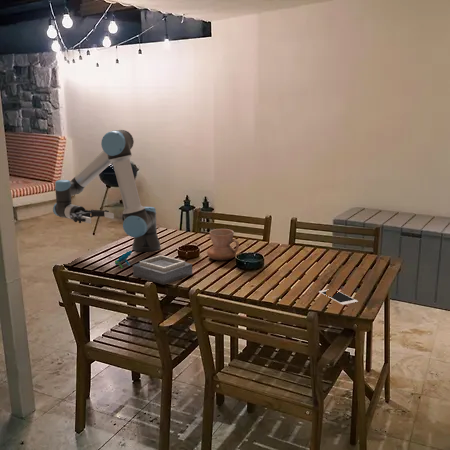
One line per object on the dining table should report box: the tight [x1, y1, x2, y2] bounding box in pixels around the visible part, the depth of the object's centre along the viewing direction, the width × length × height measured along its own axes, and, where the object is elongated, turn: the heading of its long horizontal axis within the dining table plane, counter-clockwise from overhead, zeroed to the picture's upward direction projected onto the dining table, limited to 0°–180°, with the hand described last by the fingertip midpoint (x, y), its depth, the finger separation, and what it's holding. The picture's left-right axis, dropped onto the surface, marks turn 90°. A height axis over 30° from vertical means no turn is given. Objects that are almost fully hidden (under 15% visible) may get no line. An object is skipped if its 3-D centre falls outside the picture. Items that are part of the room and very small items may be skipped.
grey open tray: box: [132, 254, 193, 286], centre depth 227 cm, size 18×20×6 cm
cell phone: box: [318, 289, 359, 306], centre depth 200 cm, size 8×16×1 cm, turn 25°
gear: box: [114, 250, 133, 269], centre depth 241 cm, size 11×6×10 cm
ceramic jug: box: [206, 228, 240, 261], centre depth 251 cm, size 18×14×14 cm
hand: (102, 218), depth 240 cm, fingers open, 13 cm apart
